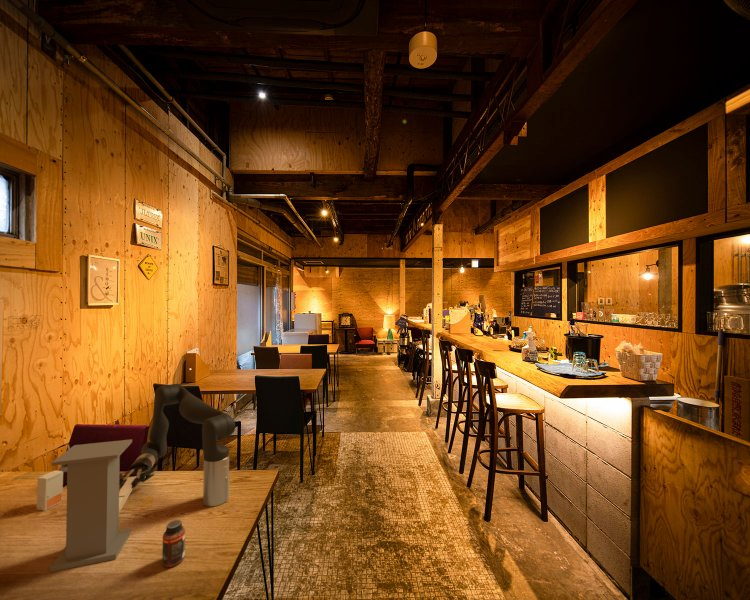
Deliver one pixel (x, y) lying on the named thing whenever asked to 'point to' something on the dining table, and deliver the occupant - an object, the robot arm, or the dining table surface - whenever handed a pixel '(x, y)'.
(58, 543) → the dining table surface
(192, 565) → the dining table surface
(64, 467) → the mate gourd
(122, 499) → the white long bar
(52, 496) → the skincare box
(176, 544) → the supplement bottle
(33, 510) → the dining table surface
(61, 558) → the gray lectern stand
